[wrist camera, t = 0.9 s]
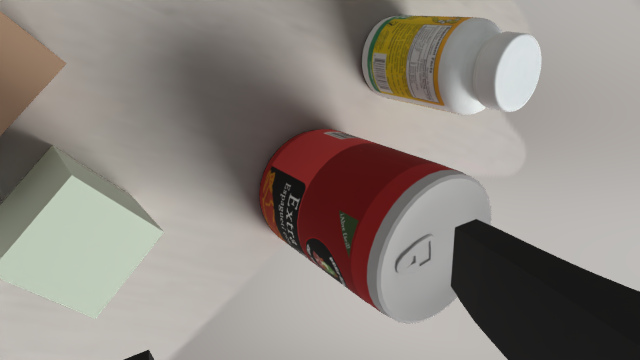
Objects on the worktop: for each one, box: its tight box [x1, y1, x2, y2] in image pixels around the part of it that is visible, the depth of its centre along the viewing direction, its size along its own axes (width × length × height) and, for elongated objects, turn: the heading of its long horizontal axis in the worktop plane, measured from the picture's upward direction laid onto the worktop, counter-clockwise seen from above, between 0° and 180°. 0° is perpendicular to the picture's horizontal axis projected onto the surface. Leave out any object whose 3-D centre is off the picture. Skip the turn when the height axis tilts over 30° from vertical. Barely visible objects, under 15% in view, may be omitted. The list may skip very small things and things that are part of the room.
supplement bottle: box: [362, 16, 541, 115], centre depth 28 cm, size 5×5×10 cm
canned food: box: [259, 129, 491, 324], centre depth 27 cm, size 8×8×11 cm
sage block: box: [0, 145, 164, 319], centre depth 21 cm, size 4×4×5 cm
